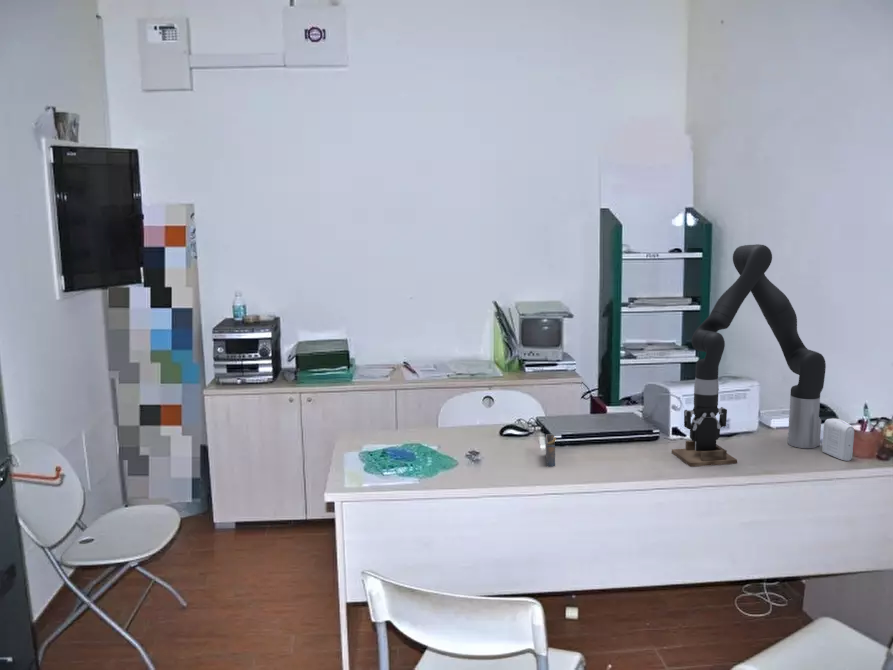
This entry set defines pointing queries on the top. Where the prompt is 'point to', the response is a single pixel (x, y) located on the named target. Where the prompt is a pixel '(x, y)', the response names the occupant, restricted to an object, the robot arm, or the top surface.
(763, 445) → the top surface
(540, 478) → the top surface
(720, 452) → the u rest
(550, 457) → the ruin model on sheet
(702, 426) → the battery
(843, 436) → the photo printer
